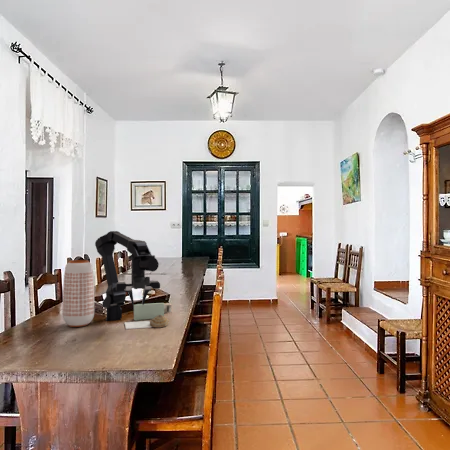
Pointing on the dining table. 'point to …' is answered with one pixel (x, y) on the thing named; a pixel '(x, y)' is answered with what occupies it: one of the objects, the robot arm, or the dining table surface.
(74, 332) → the dining table surface
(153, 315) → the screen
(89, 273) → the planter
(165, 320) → the seashell
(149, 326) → the tile
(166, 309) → the small beige block
